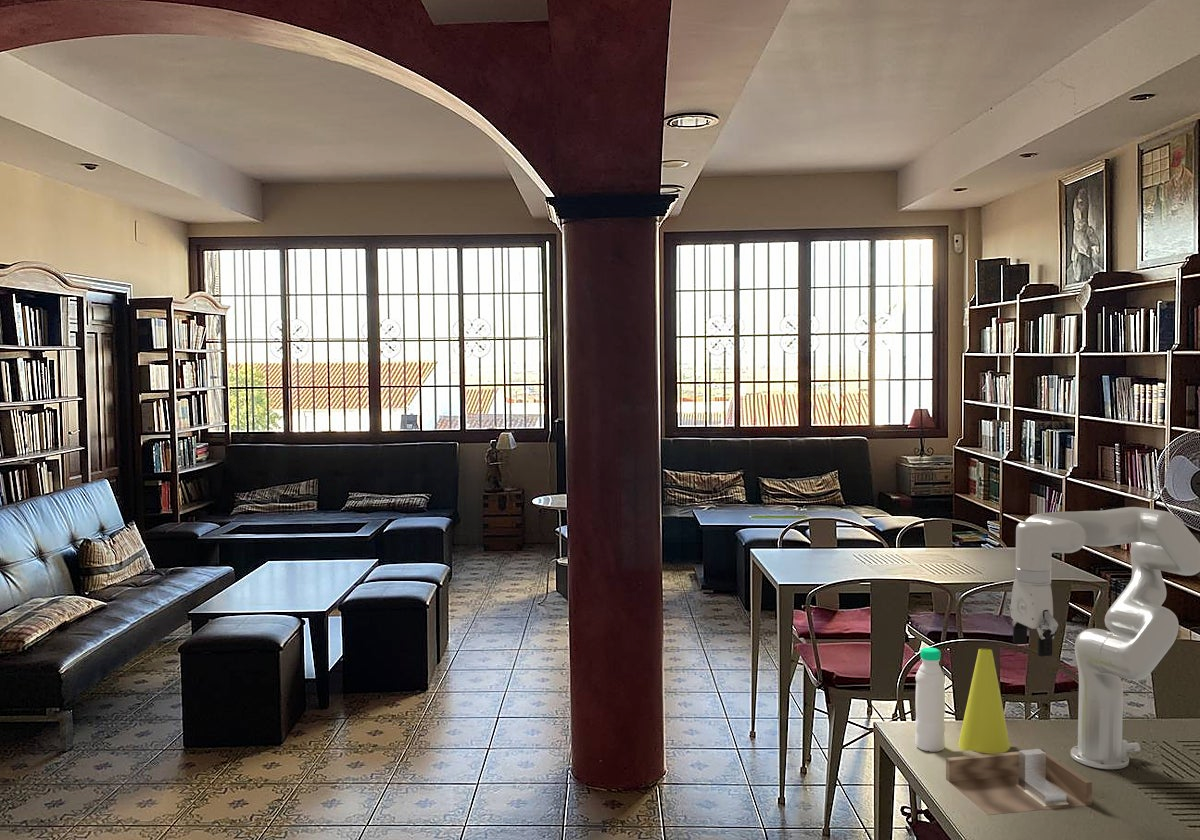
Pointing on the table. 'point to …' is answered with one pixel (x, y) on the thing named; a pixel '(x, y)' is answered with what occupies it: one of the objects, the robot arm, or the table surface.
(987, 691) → the cone
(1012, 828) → the table surface
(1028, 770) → the bracket
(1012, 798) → the tray
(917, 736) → the water bottle
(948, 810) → the table surface
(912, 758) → the table surface
